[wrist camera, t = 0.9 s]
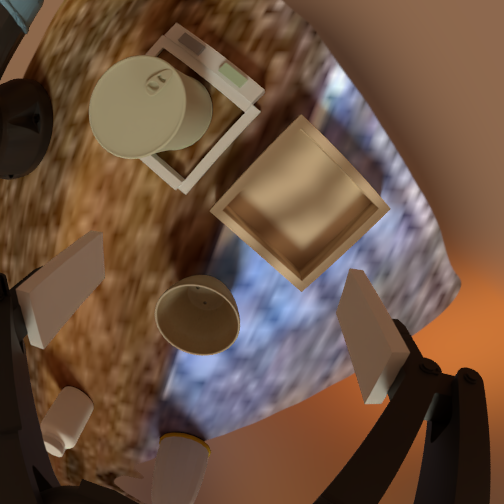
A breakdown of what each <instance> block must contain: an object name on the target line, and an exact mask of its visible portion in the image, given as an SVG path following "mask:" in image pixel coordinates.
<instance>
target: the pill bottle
mask: <svg viewBox="0 0 504 504" xmlns="http://www.w3.org/2000/svg"><path fill="white" fill-rule="evenodd" d="M92 411H93V403H92V401H91V399H90V398H89V397H88V396H87V395H86V394H85V393H83V392H82V391H81V390H79V389H77V388H75V387H71V386H67V387H64V388H63V389H62V391H61V392H60V394H59V395H58V397H57V398H56V400H55V401H54V403H53V404H52V406H51V408H50V409H49V411H48V412H47V414H46V415H45V417H44V419H43V420H42V422H41V430H42V432H43V433H42V437H43V440H44V444H45V447H46V450H47V451H48V452H49V453H51V454H53V455H55V456H58V457H61V456H63V454H64V452H65V448H66V449H69V448H72V447H74V446H75V444H76V442H77V440H78V438H79V436H80V434H81V432H82V430H83V428H84V426H85V424H86V423H87V421H88V419H89V417H90V415H91V413H92Z"/></svg>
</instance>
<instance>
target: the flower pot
mask: <svg viewBox="0 0 504 504" xmlns="http://www.w3.org/2000/svg"><path fill="white" fill-rule="evenodd" d="M196 287H198V289H197V288H196ZM205 302H206V303H205ZM155 320H156V324H157V327H158V329H159V331H160V332H161V334H162V335H163V337H164V338H165V339H166V340H167V341H168V342H169V343H170V344H172V345H173V346H174V347H176V348H178V349H179V350H182V351H184V352H187V353H190V354H194V355H213V354H217V353H220V352H223V351H224V350H226V349H228V348H229V347H230V346H231V345H232V344H233V343H234V342H235V340H236V339H237V337H238V334H239V330H240V318H239V312H238V308H237V304H236V302H235V299H234V297H233V295H232V294H231V292H230V290H229V289H228V288H227V287H226V286H225V285H224V284H223V283H222V282H221V281H220V280H218V279H216V278H214V277H212V276H208V275H194V276H190V277H187V278H184V279H182V280H180V281H178V282H177V283H175V284H174V285H172V286H171V287H170V288H169V289H167V290H166V291H165V292H164V293H163V295H162V296H161V297H160V298H159V300H158V302H157V304H156V308H155Z"/></svg>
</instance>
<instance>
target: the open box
mask: <svg viewBox="0 0 504 504" xmlns="http://www.w3.org/2000/svg"><path fill="white" fill-rule="evenodd" d="M389 210H390V208H389V206H388V205H387V204H386V203H385V202H384V200H383V199H382V198H381V197H380V196H379V195H378V193H377V192H376V191H375V190H374V189H373V188H372V187H371V185H370V184H369V183H368V182H367V181H366V180H365V179H364V178H363V176H362V175H361V174H360V173H359V172H358V171H357V170H356V169H355V168H354V167H353V166H352V165H351V163H350V162H349V161H348V160H347V159H346V158H345V157H344V156H343V155H342V154H341V153H340V152H339V151H338V150H337V149H336V148H335V147H334V146H333V145H332V144H331V143H330V142H329V141H328V140H327V139H326V138H325V137H324V136H323V135H322V134H321V133H320V132H319V131H318V130H317V129H316V128H315V127H314V126H313V125H312V124H311V123H310V122H309V121H308V120H307V119H306V118H305V117H304V116H303V115H302V114H301V115H299V116H298V117H297V118H296V119H295V120H294V121H293V122H292V123H291V124H290V125H289V126H288V127H287V128H286V129H285V130H284V131H283V132H282V133H281V134H280V135H279V136H278V137H277V138H276V139H275V140H274V141H273V142H272V143H271V144H270V145H269V146H268V147H267V148H266V149H265V150H264V151H263V152H262V153H261V154H260V155H259V156H258V157H257V159H256V160H255V161H254V162H253V163H252V164H251V165H250V166H249V167H248V168H247V169H246V170H245V171H244V172H243V173H242V174H241V176H240V177H239V178H238V179H237V180H236V181H235V182H234V183H233V184H232V185H231V186H230V187H229V189H228V190H227V191H226V192H225V193H224V194H223V195H222V196H221V197H220V198H219V200H218V201H217V202H216V203H215V204H214V206H213V207H212V208H211V210H210V212H211V213H212V214H213V215H214V216H216V217H217V218H218V219H219V220H220V221H221V222H222V223H224V224H225V225H226V226H227V227H228V228H229V229H230V230H232V231H233V232H234V233H235V234H236V235H237V236H238V237H240V238H241V239H242V240H243V241H244V242H245V243H246V244H248V245H249V246H250V247H251V248H252V249H253V250H254V251H256V252H257V253H258V254H259V255H260V256H261V257H262V258H264V259H265V260H266V261H267V262H268V263H269V264H270V265H271V266H273V267H274V268H275V269H276V270H277V271H278V272H279V273H281V274H282V275H283V276H284V277H285V278H286V279H287V280H289V281H290V282H291V283H292V284H293V285H294V286H295V287H296V288H298V289H299V290H300V291H301V292H302V291H303V290H304V289H305V288H306V287H308V286H309V285H310V284H311V283H312V282H313V281H314V280H315V279H317V278H318V277H319V276H320V275H321V274H322V273H323V272H324V271H325V270H327V269H328V268H329V267H330V266H331V265H332V264H333V263H334V262H335V261H336V260H337V259H339V258H340V257H341V256H342V255H343V254H344V253H345V252H346V251H347V250H348V249H349V248H350V247H351V246H353V245H354V244H355V243H356V242H357V241H358V240H359V239H360V238H361V237H362V236H363V235H364V234H365V233H366V232H367V231H368V230H369V229H370V228H371V227H373V226H374V225H375V224H376V223H377V222H378V221H379V220H380V219H381V218H382V217H383V216H384V215H385V214H386V213H387V212H388V211H389Z"/></svg>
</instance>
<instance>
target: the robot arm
mask: <svg viewBox="0 0 504 504" xmlns="http://www.w3.org/2000/svg"><path fill="white" fill-rule="evenodd" d="M43 2H44V0H0V80H1V77H2V75H3V73H4V71H5V69H6V67H7V65H8V63H9V61H10V60H11V58H12V56H13V54H14V53H15V51H16V49H17V47H18V46H19V44H20V42H21V40H22V39H23V37H24V35H25V34H27V33H28V31H29V27H30V25H31V23H32V21H33V20H34V18H35V16H36V14H37V13H38V11H39V10H40V8H41V7H42V5H43ZM52 122H53V117H52V107H51V103H50V99H49V97H48V94H47V92H46V91H45V89H44V88H43V87H42V86H41V85H40V84H39V83H38V82H36V81H34V80H31V79H13V80H10V81H8V82H6V83H3V84H1V85H0V178H1V179H8V180H9V179H16V178H19V177H23V176H25V175H28V174H29V173H31V172H32V171H33V170H34V169H35V168H36V167H37V166H38V165H39V164H40V162H41V161H42V159H43V157H44V155H45V153H46V151H47V148H48V146H49V142H50V138H51V133H52ZM104 278H105V271H104V256H103V234H102V232H97V231H89V232H88V233H87V234H85V235H84V236H82V237H81V238H80V239H78V240H77V241H76V242H74V243H73V244H72V245H70V246H69V247H68V248H66V249H65V250H64V251H62V252H61V253H60V254H58V255H57V256H56V257H54V258H53V259H52V260H51V261H49V262H48V263H47V264H45V265H44V266H42V267H39V268H37V269H35V270H33V271H32V272H31V273H30V274H28V276H26V277H25V278H23V280H21V281H20V282H19V283H17V284H16V285H15V286H14V287H13V288H11V289H10V290H9V287H8V283H7V278H6V275H4V274H3V273H0V504H139V503H137V502H135V501H133V500H131V499H129V498H127V497H126V496H124V495H122V494H120V493H119V492H117V491H115V490H112V489H109V488H106V487H103V486H100V485H97V484H94V483H92V482H89V481H86V480H84V479H82V481H81V483H80V486H61V485H60V484H59V482H58V480H57V478H56V476H55V474H54V472H53V469H52V466H51V463H50V460H49V457H48V454H47V450H46V447H45V444H44V440H43V437H42V433H41V429H40V425H39V421H38V417H37V413H36V408H35V404H34V399H33V394H32V389H31V383H30V377H29V371H28V364H27V357H26V349H25V344H24V341H23V338H24V337H25V336H26V335H27V334H28V337H29V340H30V343H31V345H33V346H36V347H39V348H41V349H45V348H46V346H47V345H48V344H49V343H50V341H51V340H52V339H53V338H54V336H55V335H56V334H57V333H58V331H59V330H60V329H61V328H62V327H63V325H64V324H65V323H66V322H67V321H68V319H69V318H70V317H71V316H72V315H73V313H74V312H75V311H76V310H77V309H78V308H79V306H80V305H81V304H82V303H83V302H84V301H85V300H86V298H87V297H88V296H89V295H90V294H91V293H92V292H93V290H94V289H95V288H96V287H97V286H98V285H99V284H100V283H101V282H102V280H103V279H104ZM336 314H337V317H338V320H339V323H340V326H341V329H342V332H343V335H344V338H345V342H346V345H347V348H348V351H349V354H350V357H351V360H352V364H353V367H354V370H355V373H356V376H357V380H358V383H359V386H360V390H361V393H362V397H363V400H364V403H365V404H381V403H382V401H383V400H384V398H385V397H386V395H387V393H388V396H389V399H390V402H389V404H388V405H387V407H386V408H385V410H384V412H383V413H382V415H381V416H380V418H379V419H378V421H377V422H376V424H375V425H374V427H373V428H372V430H371V431H370V433H369V434H368V435H367V437H366V438H365V440H364V441H363V442H362V444H361V445H360V447H359V448H358V449H357V451H356V452H355V453H354V455H353V456H352V457H351V459H350V460H349V461H348V462H347V464H346V465H345V466H344V468H343V469H342V470H341V471H340V473H339V474H338V475H337V476H336V477H335V479H334V480H333V481H332V482H331V484H330V485H329V486H328V487H327V488H326V489H325V490H324V492H323V493H322V494H321V495H320V496H319V497H318V499H317V500H316V501H315V502H314V503H313V504H378V503H379V501H380V500H381V498H382V497H383V495H384V493H385V492H386V490H387V489H388V487H389V485H390V484H391V482H392V480H393V478H394V477H395V475H396V473H397V472H398V470H399V468H400V466H401V464H402V462H403V461H404V459H405V457H406V455H407V453H408V451H409V449H410V447H411V445H412V443H413V441H414V439H415V437H416V435H417V433H418V431H419V429H420V427H421V425H422V422H423V420H427V430H426V438H425V445H424V453H423V459H422V465H421V470H420V476H419V481H418V486H417V491H416V495H415V500H414V504H489V503H490V440H489V425H488V414H487V405H486V398H485V390H484V383H483V380H482V377H481V376H480V375H479V373H478V372H476V371H475V370H472V369H470V368H461V369H460V370H459V371H458V372H457V374H456V375H455V376H452V375H448V374H443V373H442V371H441V368H440V367H439V365H438V364H437V363H436V362H434V361H432V360H431V359H428V358H423V356H422V354H421V352H420V351H419V349H418V347H417V345H416V344H415V342H414V341H413V339H412V337H411V335H409V332H408V330H407V328H406V326H405V325H404V324H402V323H401V322H400V321H399V320H398V319H391V317H390V315H389V313H388V312H387V310H386V308H385V306H384V305H383V303H382V301H381V300H380V298H379V296H378V294H377V293H376V291H375V289H374V288H373V286H372V284H371V283H370V281H369V279H368V278H367V276H366V274H365V273H364V271H363V270H357V269H349V273H348V276H347V279H346V283H345V286H344V289H343V293H342V296H341V299H340V302H339V305H338V308H337V311H336Z"/></svg>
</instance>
